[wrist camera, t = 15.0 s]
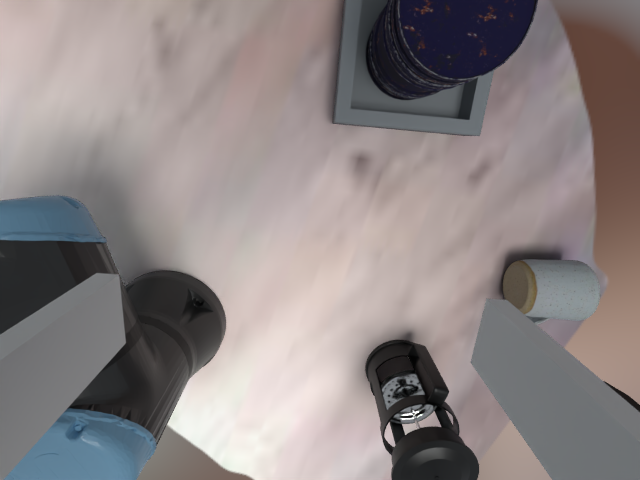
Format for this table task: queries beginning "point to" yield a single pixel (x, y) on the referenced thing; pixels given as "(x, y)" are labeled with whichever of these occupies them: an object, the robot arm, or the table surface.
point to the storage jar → (443, 43)
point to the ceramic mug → (552, 289)
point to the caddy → (386, 112)
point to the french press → (418, 417)
